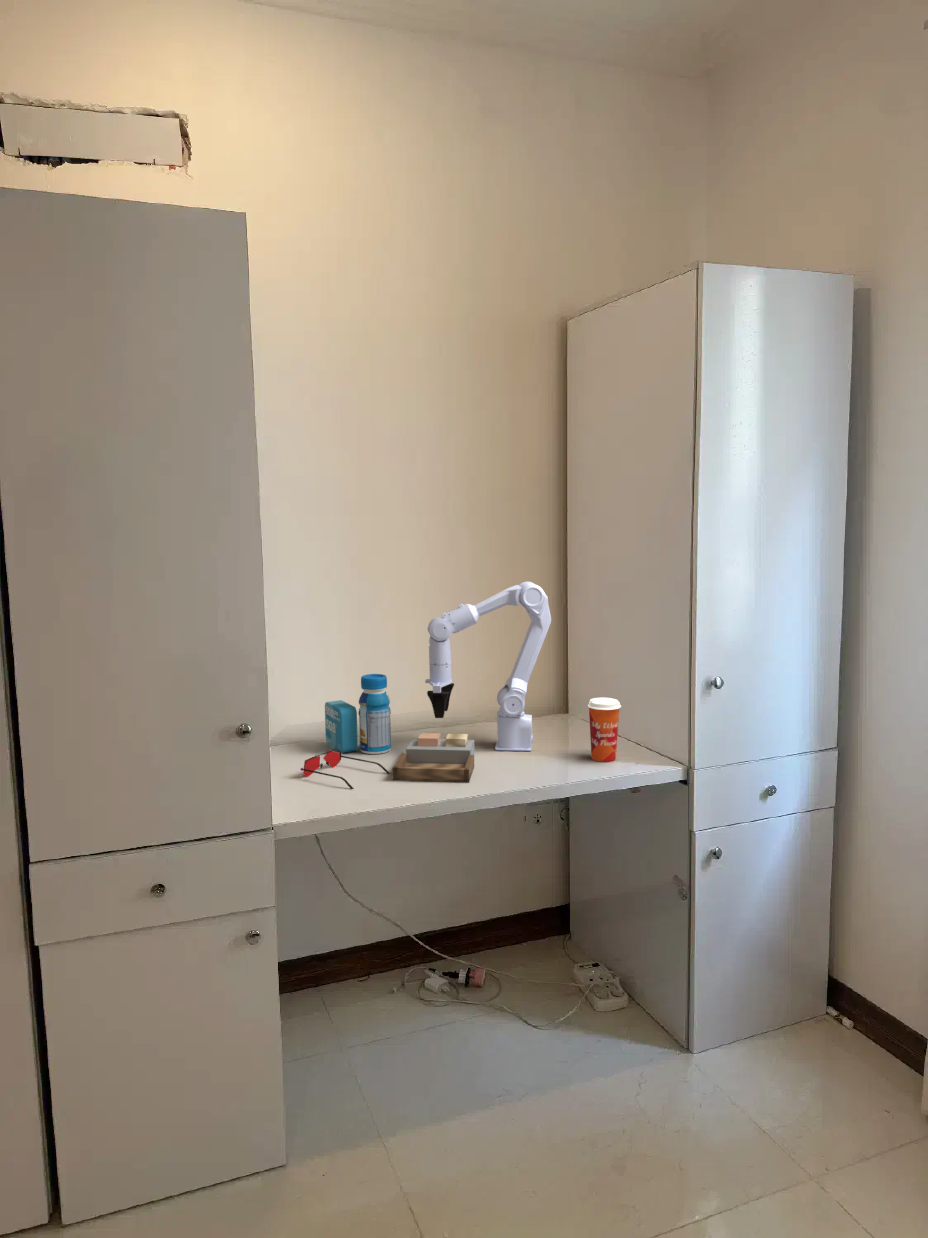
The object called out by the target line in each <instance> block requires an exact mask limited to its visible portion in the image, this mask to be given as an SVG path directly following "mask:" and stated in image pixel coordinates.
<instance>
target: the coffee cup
mask: <svg viewBox="0 0 928 1238" xmlns="http://www.w3.org/2000/svg"><path fill="white" fill-rule="evenodd" d="M587 707H588V711H589V712H588V714H589V718H588V719H589V736H590V751H591V752H590V753H591V754H590V755H591V759H592V761H595V762H598V761H599V763H610V761H612V762H614V761H616V759H617V758H616V757H617V746H618V732H619V722H620V721H619V720H620V719H619V718H620V708H622V705H621V703H620V701H619V700H618V699H616V698H611V697H594V698H590V699H589V702H588V704H587Z"/></svg>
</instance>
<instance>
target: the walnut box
mask: <svg viewBox="0 0 928 1238" xmlns="http://www.w3.org/2000/svg"><path fill="white" fill-rule="evenodd" d="M474 769H475V754H474V755H469V757H468V760H467V763H466V764H438V763H407V753H406V752H405V753H403V752H402V753H401V754H400V755H399V757H398V759H397V760H396V761H395V763H394V765H393V767H392V781H394V780H409V782H438V783H439V782H440V783H442V782H444V783H446V782H447V783H470V782H471V778H472V774H473V772H474Z"/></svg>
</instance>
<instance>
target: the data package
mask: <svg viewBox="0 0 928 1238" xmlns="http://www.w3.org/2000/svg"><path fill="white" fill-rule="evenodd" d="M324 723H325V724H324V726H325V727H324V728H325V742H326V744H327V746H329V747H330V748H331V749H332V750H334V749H339V750H340V751H341V754H346V752H347V753H352V752H356V751H358V749H359V745H358V743H359V742H358V741H359V740H358V711H357V708H356V706H354V705H352V704H350V703H349V702H346V701H344V700H342V699H339V700H332V701H331V700H330V701H325V703H324ZM339 750H335V752H339V753H340V751H339Z"/></svg>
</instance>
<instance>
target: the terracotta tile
mask: <svg viewBox="0 0 928 1238" xmlns="http://www.w3.org/2000/svg"><path fill="white" fill-rule="evenodd" d="M417 739H418V746H438V745H439V743H440V739H441V733H435V732H433V733H427V732H426V733H425V732H423V733H422V732H421V733H420V735H419V736H418V738H417Z"/></svg>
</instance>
